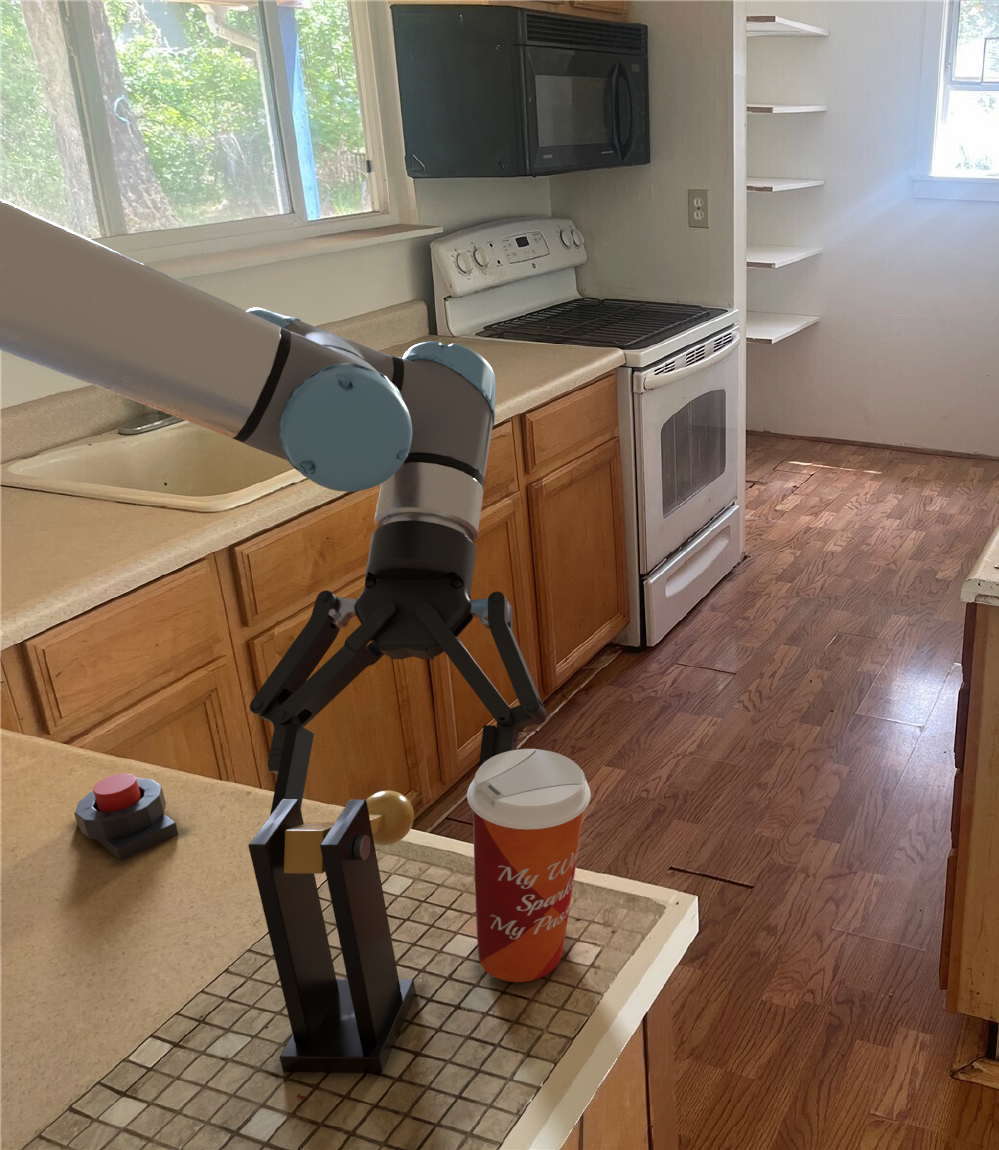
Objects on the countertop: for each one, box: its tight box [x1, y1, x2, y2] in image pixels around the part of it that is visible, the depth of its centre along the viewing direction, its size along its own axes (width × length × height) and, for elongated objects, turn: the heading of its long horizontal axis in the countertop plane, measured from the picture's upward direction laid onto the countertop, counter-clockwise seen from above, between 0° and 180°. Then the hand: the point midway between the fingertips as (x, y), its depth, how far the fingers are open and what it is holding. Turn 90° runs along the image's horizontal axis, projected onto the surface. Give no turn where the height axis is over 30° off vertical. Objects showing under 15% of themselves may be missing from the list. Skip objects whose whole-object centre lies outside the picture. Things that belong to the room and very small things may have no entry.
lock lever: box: [284, 790, 415, 875], centre depth 67 cm, size 14×4×4 cm, turn 178°
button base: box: [73, 777, 179, 862], centre depth 86 cm, size 8×6×3 cm
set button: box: [92, 773, 141, 812], centre depth 86 cm, size 3×3×2 cm
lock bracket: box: [247, 798, 417, 1074], centre depth 64 cm, size 6×6×16 cm
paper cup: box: [466, 748, 592, 983], centre depth 70 cm, size 8×8×14 cm
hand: (383, 824), depth 72 cm, fingers open, 13 cm apart
